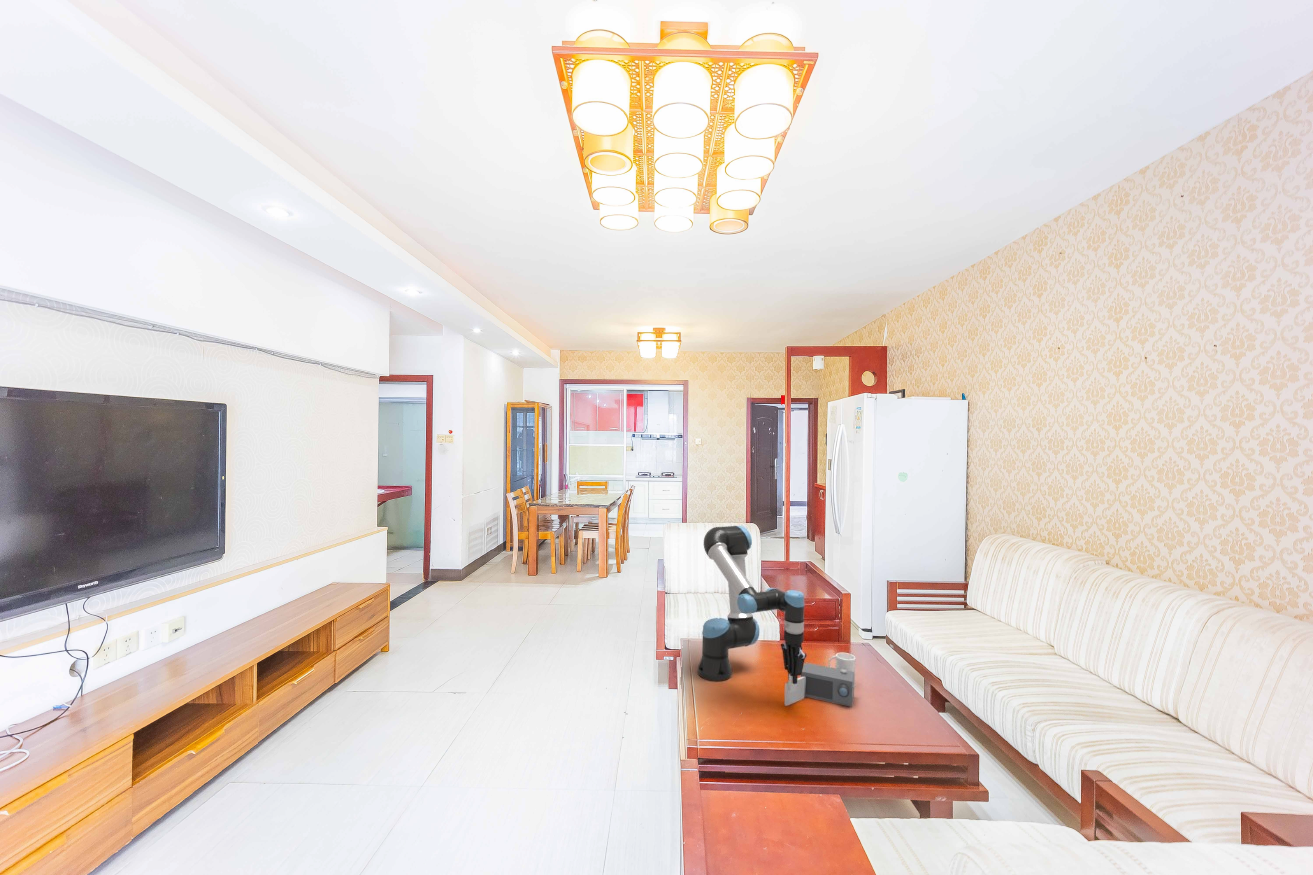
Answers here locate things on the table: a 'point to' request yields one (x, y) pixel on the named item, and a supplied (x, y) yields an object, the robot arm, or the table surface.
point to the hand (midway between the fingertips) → (792, 690)
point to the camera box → (829, 684)
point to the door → (795, 695)
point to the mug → (845, 662)
